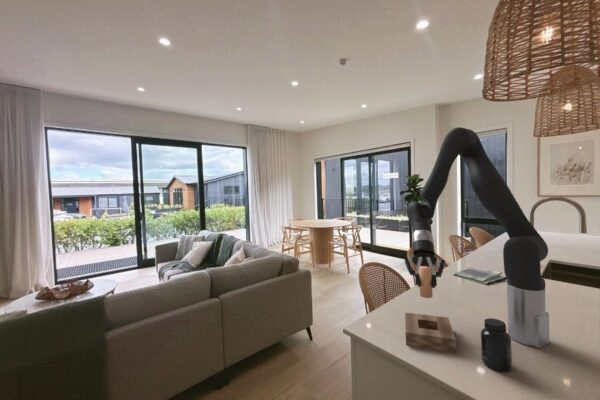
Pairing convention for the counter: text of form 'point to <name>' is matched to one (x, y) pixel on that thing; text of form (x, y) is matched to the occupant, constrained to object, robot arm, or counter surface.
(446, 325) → the socket block
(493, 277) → the dish towel
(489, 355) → the supplement bottle
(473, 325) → the counter surface
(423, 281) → the pin
